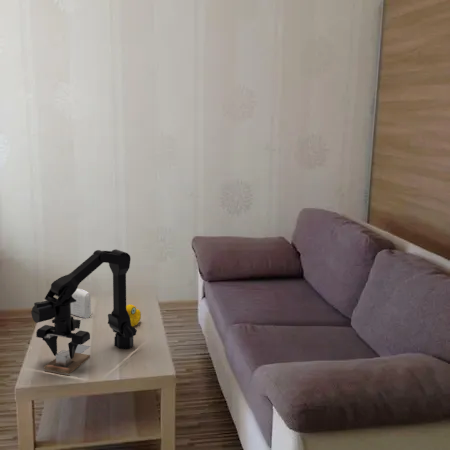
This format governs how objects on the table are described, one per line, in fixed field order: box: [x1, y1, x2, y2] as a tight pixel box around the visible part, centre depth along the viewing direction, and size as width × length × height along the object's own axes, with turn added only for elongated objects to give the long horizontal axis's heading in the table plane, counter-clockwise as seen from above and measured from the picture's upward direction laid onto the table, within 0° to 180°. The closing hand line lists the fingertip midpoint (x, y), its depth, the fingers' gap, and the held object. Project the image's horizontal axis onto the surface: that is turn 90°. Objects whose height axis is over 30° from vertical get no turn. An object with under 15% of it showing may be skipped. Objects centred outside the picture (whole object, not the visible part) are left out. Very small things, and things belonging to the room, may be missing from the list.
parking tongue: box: [67, 344, 92, 354], centre depth 221 cm, size 6×8×1 cm
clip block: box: [55, 349, 72, 368], centre depth 206 cm, size 4×4×6 cm
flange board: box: [43, 353, 91, 377], centre depth 208 cm, size 10×14×2 cm
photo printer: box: [71, 287, 92, 319], centre depth 257 cm, size 10×4×12 cm, turn 60°
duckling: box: [126, 303, 142, 327], centre depth 246 cm, size 11×5×10 cm, turn 151°
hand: (63, 356), depth 205 cm, fingers open, 6 cm apart
